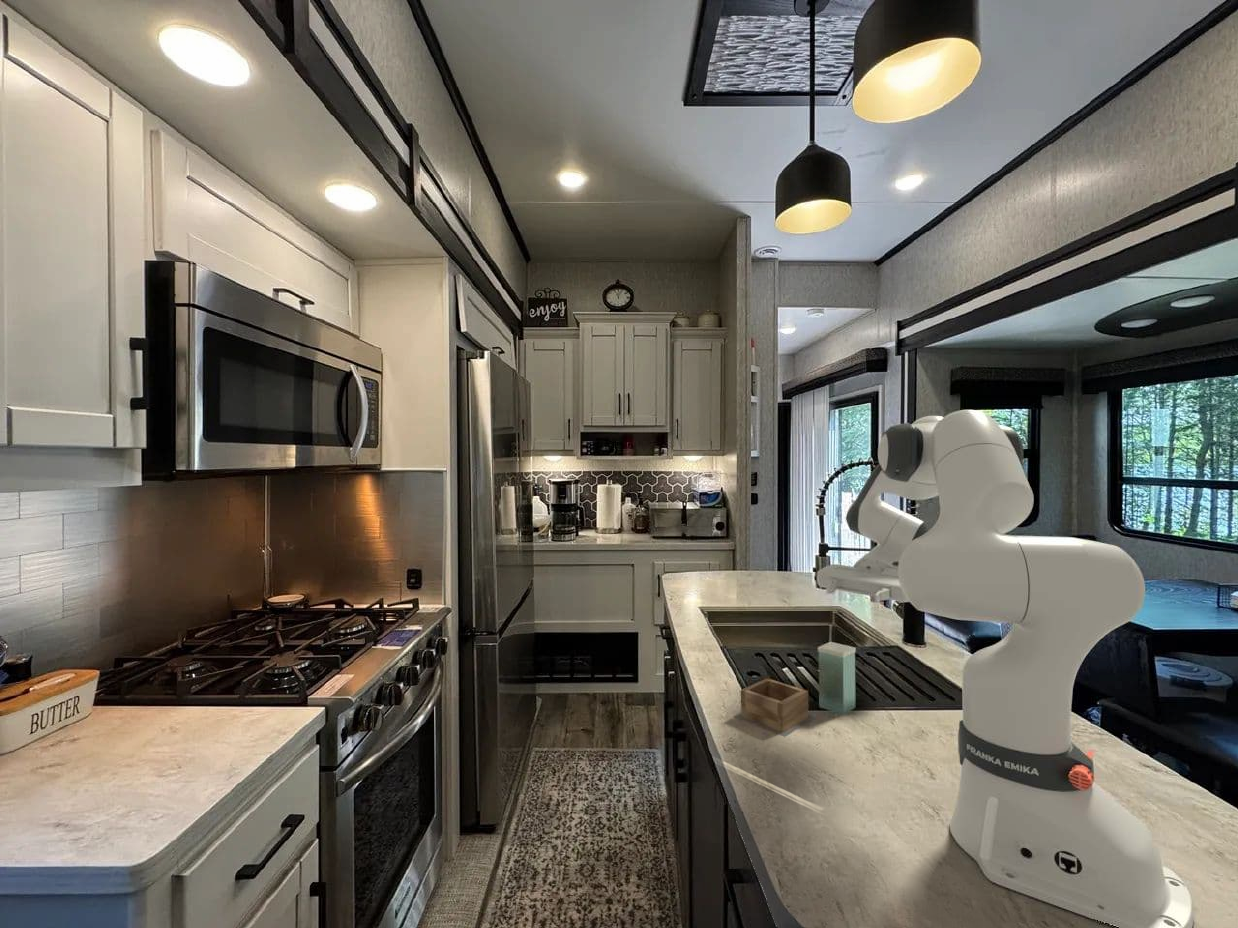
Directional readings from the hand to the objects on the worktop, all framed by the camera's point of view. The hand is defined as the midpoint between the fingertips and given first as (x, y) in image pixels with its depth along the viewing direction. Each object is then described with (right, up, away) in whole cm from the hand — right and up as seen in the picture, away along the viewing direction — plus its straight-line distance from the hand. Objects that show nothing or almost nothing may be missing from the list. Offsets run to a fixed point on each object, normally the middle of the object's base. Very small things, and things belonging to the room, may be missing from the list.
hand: (850, 594), depth 119 cm
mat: (-20, -20, -14) cm, 32 cm away
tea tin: (-7, -20, -10) cm, 24 cm away
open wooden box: (-20, -20, -14) cm, 32 cm away
